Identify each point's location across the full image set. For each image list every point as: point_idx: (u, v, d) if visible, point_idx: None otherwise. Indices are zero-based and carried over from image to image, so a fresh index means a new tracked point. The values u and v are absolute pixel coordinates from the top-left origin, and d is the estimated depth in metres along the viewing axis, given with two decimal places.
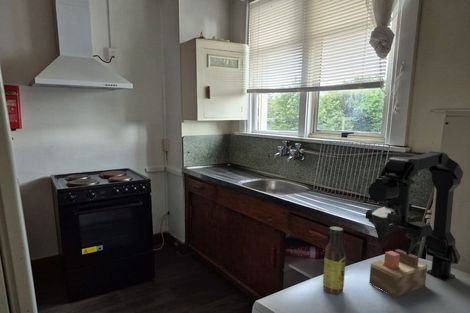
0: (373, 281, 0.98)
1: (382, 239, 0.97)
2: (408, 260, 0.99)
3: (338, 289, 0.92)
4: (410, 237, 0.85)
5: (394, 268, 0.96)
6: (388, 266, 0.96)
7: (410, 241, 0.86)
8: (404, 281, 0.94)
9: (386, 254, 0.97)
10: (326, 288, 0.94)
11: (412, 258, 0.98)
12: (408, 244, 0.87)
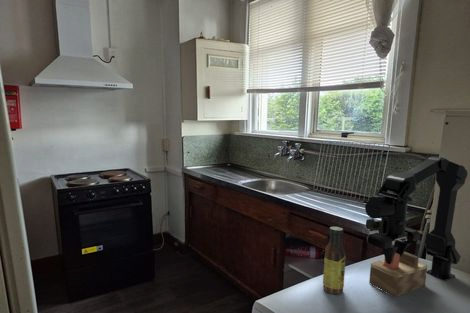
0: (373, 281, 0.98)
1: None
2: (408, 260, 0.99)
3: (338, 289, 0.92)
4: None
5: (394, 268, 0.96)
6: (388, 266, 0.96)
7: None
8: (404, 281, 0.94)
9: None
10: (326, 288, 0.94)
11: (412, 258, 0.98)
12: None
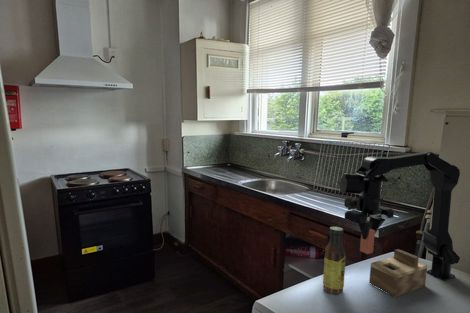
0: (373, 281, 0.98)
1: None
2: (408, 260, 0.99)
3: (338, 289, 0.92)
4: None
5: (369, 243, 1.03)
6: (364, 241, 1.04)
7: None
8: (404, 281, 0.94)
9: None
10: (326, 288, 0.94)
11: (412, 258, 0.98)
12: None
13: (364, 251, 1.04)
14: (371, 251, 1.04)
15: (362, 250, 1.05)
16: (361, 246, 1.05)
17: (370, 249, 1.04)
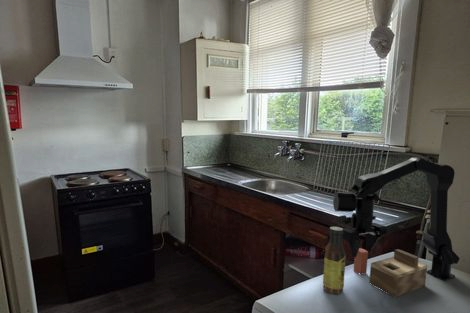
0: (373, 281, 0.98)
1: (368, 250, 1.09)
2: (408, 260, 0.99)
3: (338, 289, 0.92)
4: None
5: (362, 264, 1.06)
6: (357, 262, 1.07)
7: None
8: (404, 281, 0.94)
9: None
10: (326, 288, 0.94)
11: (412, 258, 0.98)
12: None
13: (357, 271, 1.07)
14: (364, 271, 1.07)
15: (355, 270, 1.08)
16: (355, 266, 1.08)
17: (364, 269, 1.07)
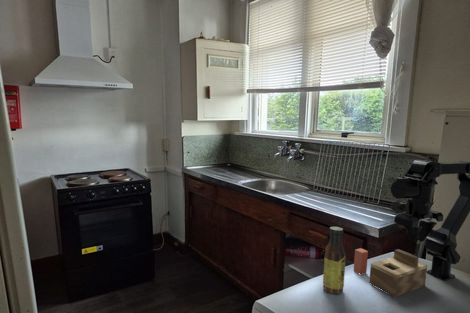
0: (373, 281, 0.98)
1: (421, 237, 1.04)
2: (408, 260, 0.99)
3: (338, 289, 0.92)
4: None
5: (362, 264, 1.06)
6: (357, 262, 1.07)
7: None
8: (404, 281, 0.94)
9: (356, 251, 1.07)
10: (326, 288, 0.94)
11: (412, 258, 0.98)
12: None
13: (357, 271, 1.07)
14: (364, 271, 1.07)
15: (355, 270, 1.08)
16: (355, 266, 1.08)
17: (364, 270, 1.07)
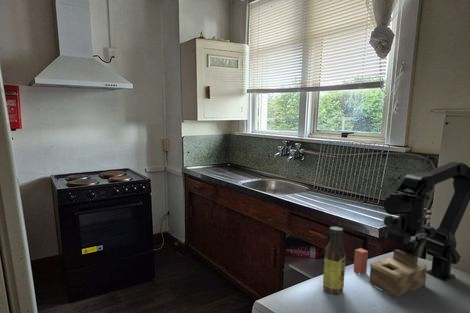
0: (373, 281, 0.98)
1: None
2: (408, 261, 0.98)
3: (338, 289, 0.92)
4: None
5: (362, 264, 1.06)
6: (357, 262, 1.07)
7: None
8: (404, 281, 0.94)
9: (356, 251, 1.07)
10: (326, 288, 0.94)
11: (411, 258, 0.97)
12: None
13: (357, 271, 1.07)
14: (364, 271, 1.07)
15: (355, 270, 1.08)
16: (355, 266, 1.08)
17: (364, 270, 1.07)
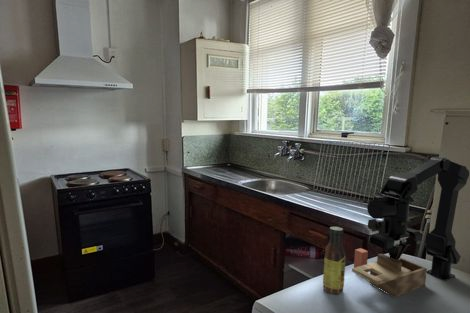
0: None
1: None
2: (391, 266, 0.94)
3: (338, 289, 0.92)
4: None
5: (362, 264, 1.06)
6: (357, 262, 1.07)
7: None
8: (404, 281, 0.94)
9: (356, 251, 1.07)
10: (326, 288, 0.94)
11: (395, 263, 0.93)
12: None
13: None
14: None
15: None
16: (355, 266, 1.08)
17: None
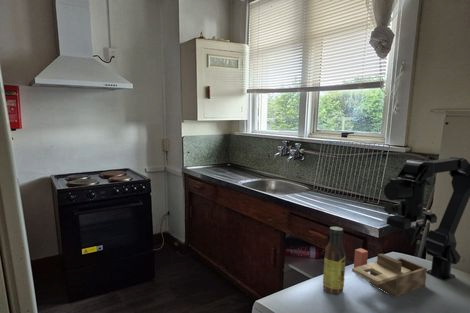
0: None
1: None
2: (391, 266, 0.94)
3: (338, 289, 0.92)
4: None
5: (362, 264, 1.06)
6: (357, 262, 1.07)
7: None
8: (404, 281, 0.94)
9: (356, 251, 1.07)
10: (326, 288, 0.94)
11: (395, 263, 0.93)
12: None
13: None
14: None
15: None
16: (355, 266, 1.08)
17: None
